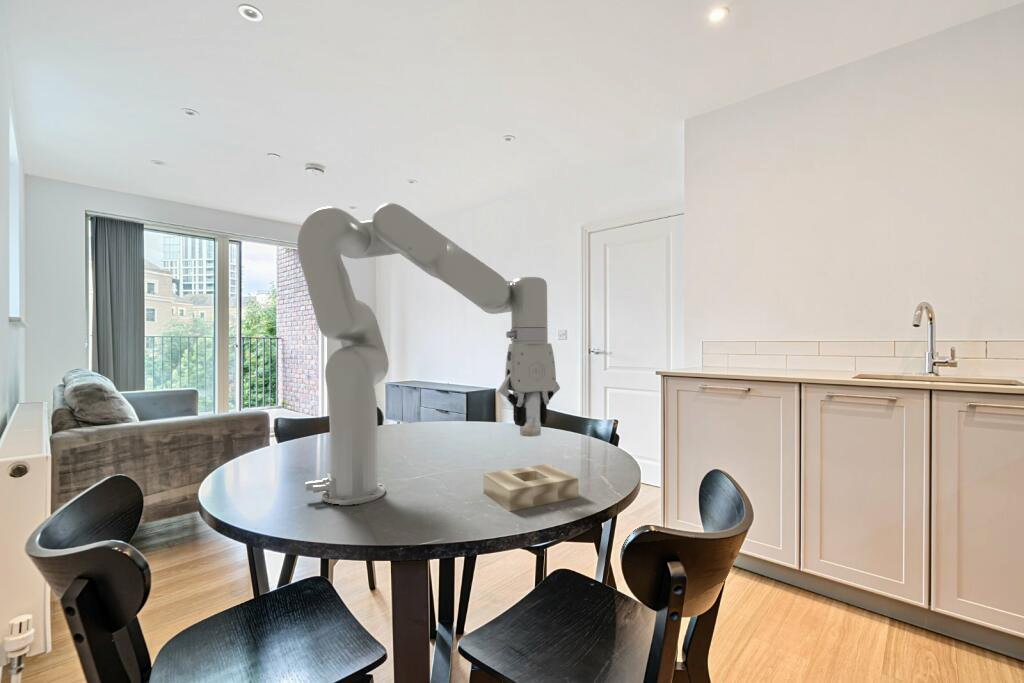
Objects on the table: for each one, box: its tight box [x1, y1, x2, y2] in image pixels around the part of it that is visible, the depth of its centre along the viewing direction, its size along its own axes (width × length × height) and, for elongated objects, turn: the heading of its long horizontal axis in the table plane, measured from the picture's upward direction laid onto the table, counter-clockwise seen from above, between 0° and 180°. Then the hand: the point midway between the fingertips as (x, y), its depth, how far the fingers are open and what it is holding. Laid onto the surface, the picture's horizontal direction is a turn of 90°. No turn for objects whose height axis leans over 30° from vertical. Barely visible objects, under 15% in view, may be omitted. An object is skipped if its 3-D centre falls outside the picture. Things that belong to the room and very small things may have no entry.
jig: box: [482, 463, 579, 512], centre depth 94 cm, size 16×12×4 cm
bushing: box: [519, 391, 542, 438], centre depth 94 cm, size 4×4×9 cm
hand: (530, 423), depth 94 cm, fingers closed on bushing, 4 cm apart
